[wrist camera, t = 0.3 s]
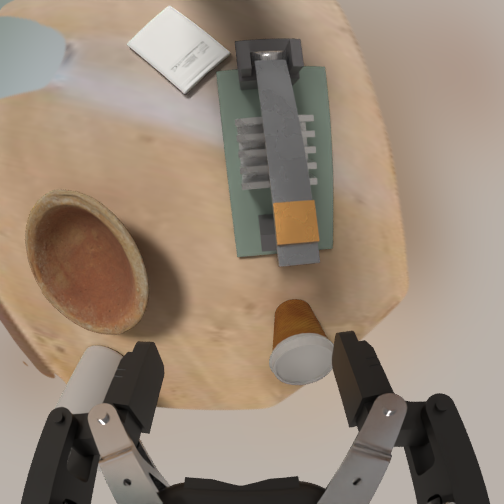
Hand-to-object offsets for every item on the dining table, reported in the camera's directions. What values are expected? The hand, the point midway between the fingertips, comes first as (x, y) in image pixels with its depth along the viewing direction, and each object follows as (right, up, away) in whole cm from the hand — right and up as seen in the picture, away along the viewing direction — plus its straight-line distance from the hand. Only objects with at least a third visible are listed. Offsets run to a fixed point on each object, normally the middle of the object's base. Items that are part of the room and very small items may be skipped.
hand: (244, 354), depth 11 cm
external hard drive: (-10, +32, +17) cm, 37 cm away
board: (+4, +16, +24) cm, 29 cm away
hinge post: (+2, +27, +19) cm, 33 cm away
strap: (+3, +14, +10) cm, 17 cm away
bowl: (-25, +5, +29) cm, 38 cm away
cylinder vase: (-31, -20, +40) cm, 55 cm away
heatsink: (+3, +18, +23) cm, 29 cm away
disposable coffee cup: (+7, -6, +34) cm, 36 cm away
